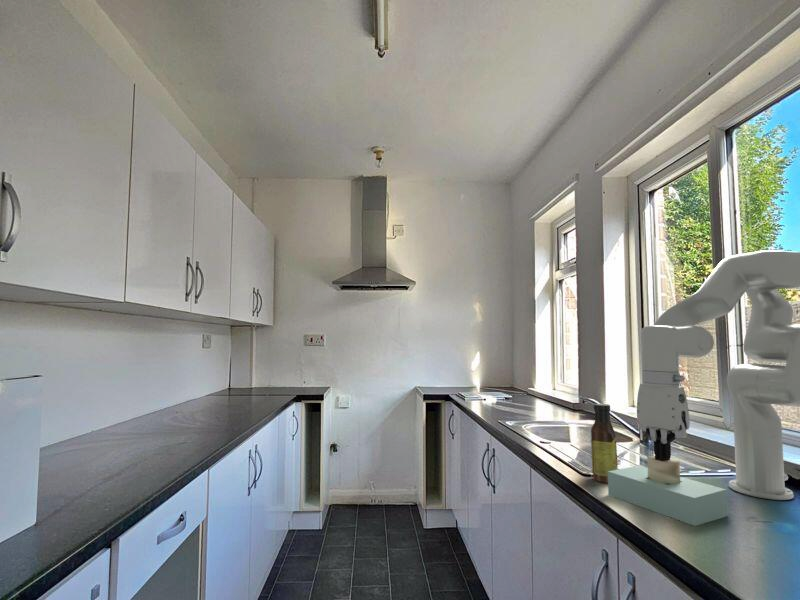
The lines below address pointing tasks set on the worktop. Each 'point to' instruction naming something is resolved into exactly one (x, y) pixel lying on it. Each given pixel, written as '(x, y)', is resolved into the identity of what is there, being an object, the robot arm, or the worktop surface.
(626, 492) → the block
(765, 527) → the worktop surface
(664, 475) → the pin
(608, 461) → the sauce bottle
